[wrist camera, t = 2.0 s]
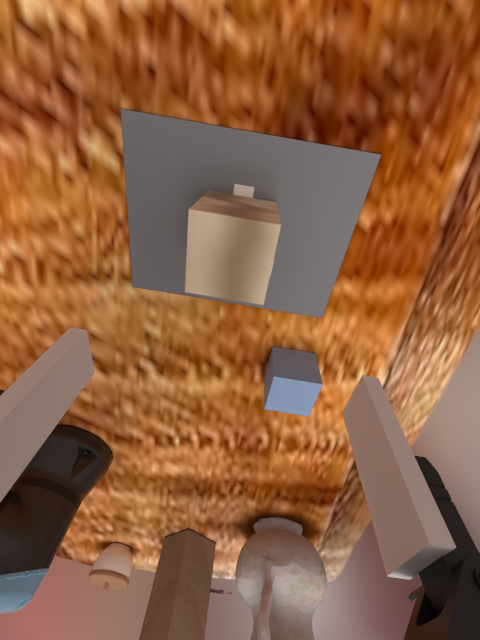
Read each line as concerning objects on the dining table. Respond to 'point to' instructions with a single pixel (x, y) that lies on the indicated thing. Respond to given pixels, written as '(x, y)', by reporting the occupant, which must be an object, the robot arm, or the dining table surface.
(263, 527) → the ceramic pitcher
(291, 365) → the blue cube
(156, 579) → the wooden block
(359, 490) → the dining table surface
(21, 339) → the dining table surface
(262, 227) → the maple block
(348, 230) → the board
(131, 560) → the lidded jar
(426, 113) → the dining table surface
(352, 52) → the dining table surface
